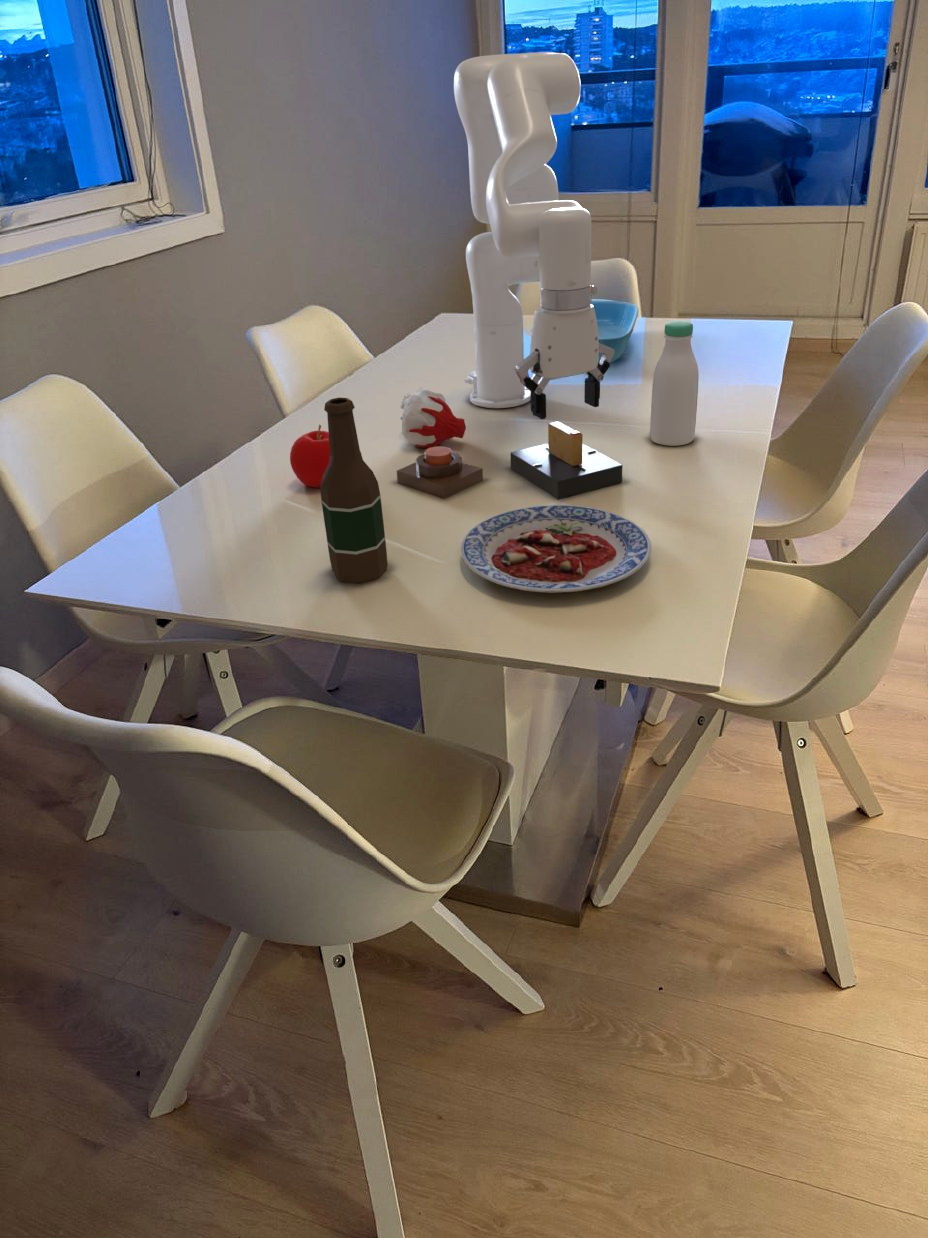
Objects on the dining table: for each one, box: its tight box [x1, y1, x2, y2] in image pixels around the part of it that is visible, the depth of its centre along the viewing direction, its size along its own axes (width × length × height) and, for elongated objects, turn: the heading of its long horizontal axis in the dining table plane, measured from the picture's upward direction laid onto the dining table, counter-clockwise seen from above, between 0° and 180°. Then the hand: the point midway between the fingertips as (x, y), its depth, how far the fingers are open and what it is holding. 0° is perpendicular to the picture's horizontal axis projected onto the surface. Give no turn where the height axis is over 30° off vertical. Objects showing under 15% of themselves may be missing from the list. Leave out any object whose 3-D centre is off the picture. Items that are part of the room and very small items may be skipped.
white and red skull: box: [400, 387, 467, 449], centre depth 168 cm, size 9×11×15 cm
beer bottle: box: [319, 397, 388, 584], centre depth 123 cm, size 8×8×24 cm
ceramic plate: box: [460, 504, 652, 594], centre depth 129 cm, size 26×26×3 cm
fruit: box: [289, 424, 330, 489], centre depth 155 cm, size 9×9×10 cm
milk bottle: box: [649, 320, 700, 447], centre depth 161 cm, size 8×8×20 cm
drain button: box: [423, 445, 453, 465], centre depth 153 cm, size 4×4×2 cm
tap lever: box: [547, 421, 584, 466], centre depth 151 cm, size 8×2×5 cm, turn 27°
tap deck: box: [509, 442, 623, 500], centre depth 153 cm, size 15×12×3 cm
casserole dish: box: [530, 298, 639, 364], centre depth 217 cm, size 37×22×7 cm, turn 166°
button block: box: [396, 451, 484, 499], centre depth 154 cm, size 11×9×4 cm
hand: (565, 410), depth 148 cm, fingers open, 9 cm apart
